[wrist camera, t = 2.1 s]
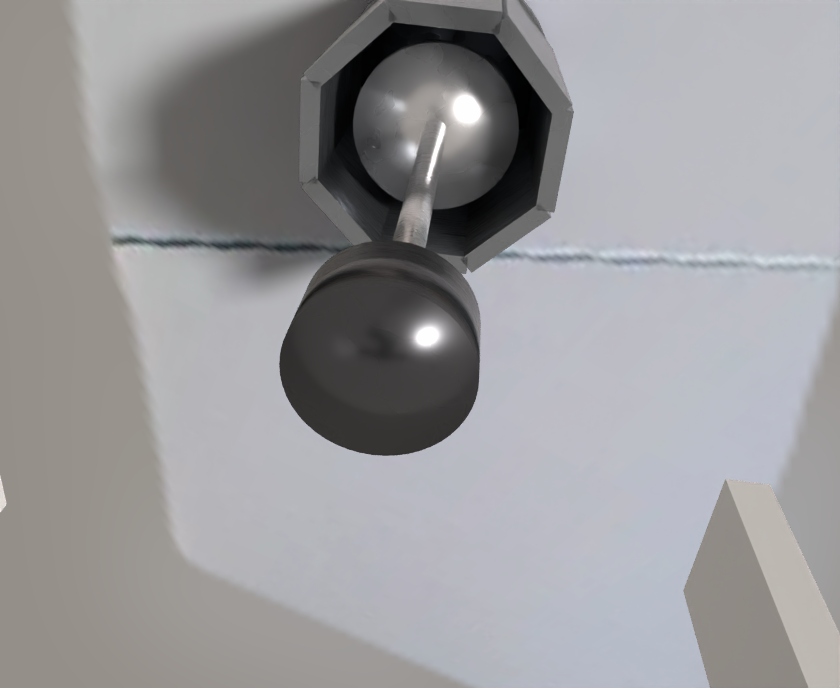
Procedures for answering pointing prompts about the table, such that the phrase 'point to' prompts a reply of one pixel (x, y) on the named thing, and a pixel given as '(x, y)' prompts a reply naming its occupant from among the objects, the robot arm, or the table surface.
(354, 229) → the octagonal container
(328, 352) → the plunger
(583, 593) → the table surface
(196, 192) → the table surface
